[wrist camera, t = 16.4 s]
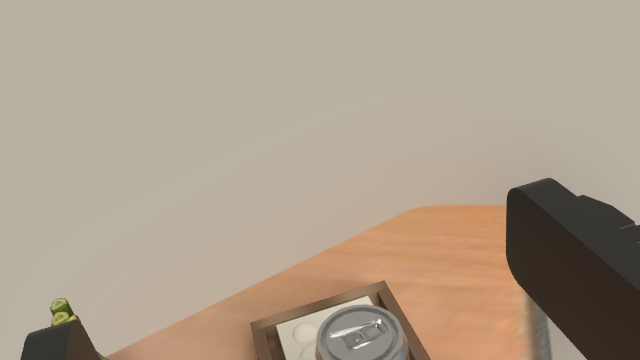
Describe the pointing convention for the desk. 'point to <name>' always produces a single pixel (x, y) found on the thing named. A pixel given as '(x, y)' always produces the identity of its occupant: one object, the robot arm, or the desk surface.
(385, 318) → the beer can
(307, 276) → the desk surface
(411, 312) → the desk surface
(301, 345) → the egg carton
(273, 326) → the crate
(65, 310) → the fennel bulb
